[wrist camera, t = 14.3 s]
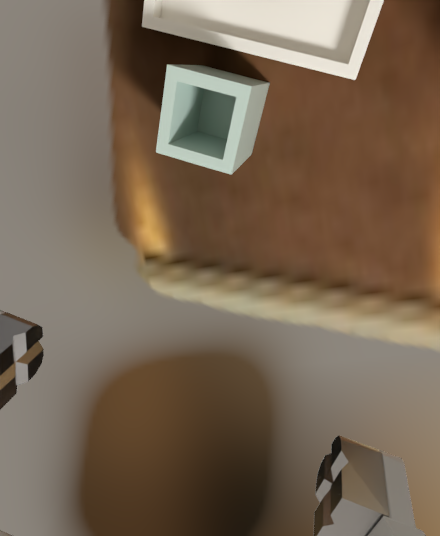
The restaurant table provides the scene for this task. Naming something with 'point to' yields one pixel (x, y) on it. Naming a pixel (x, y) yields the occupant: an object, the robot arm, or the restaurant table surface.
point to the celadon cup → (210, 116)
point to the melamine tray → (275, 28)
